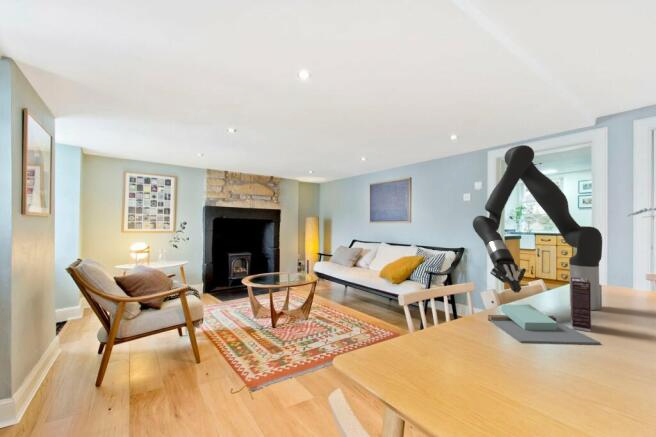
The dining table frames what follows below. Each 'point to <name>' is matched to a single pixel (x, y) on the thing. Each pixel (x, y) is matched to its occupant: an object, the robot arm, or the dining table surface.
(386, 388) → the dining table surface
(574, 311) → the supplement box
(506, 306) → the tile
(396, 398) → the dining table surface
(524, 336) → the grey board with ledge
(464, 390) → the dining table surface
